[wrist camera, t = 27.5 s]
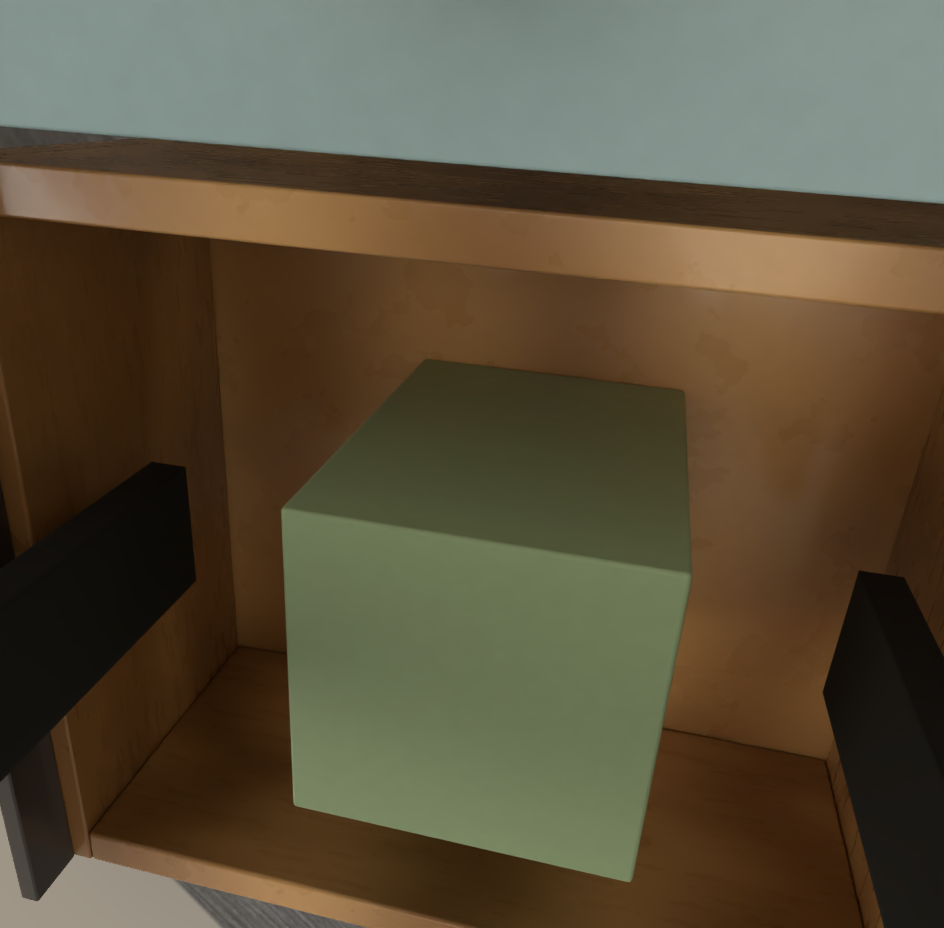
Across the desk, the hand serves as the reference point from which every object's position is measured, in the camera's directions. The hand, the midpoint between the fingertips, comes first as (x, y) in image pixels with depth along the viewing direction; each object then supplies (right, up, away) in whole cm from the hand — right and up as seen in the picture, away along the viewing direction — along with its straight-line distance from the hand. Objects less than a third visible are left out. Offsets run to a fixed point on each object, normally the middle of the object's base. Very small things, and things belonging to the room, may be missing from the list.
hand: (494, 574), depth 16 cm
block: (+1, +1, +4) cm, 4 cm away
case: (+1, +2, +5) cm, 5 cm away
